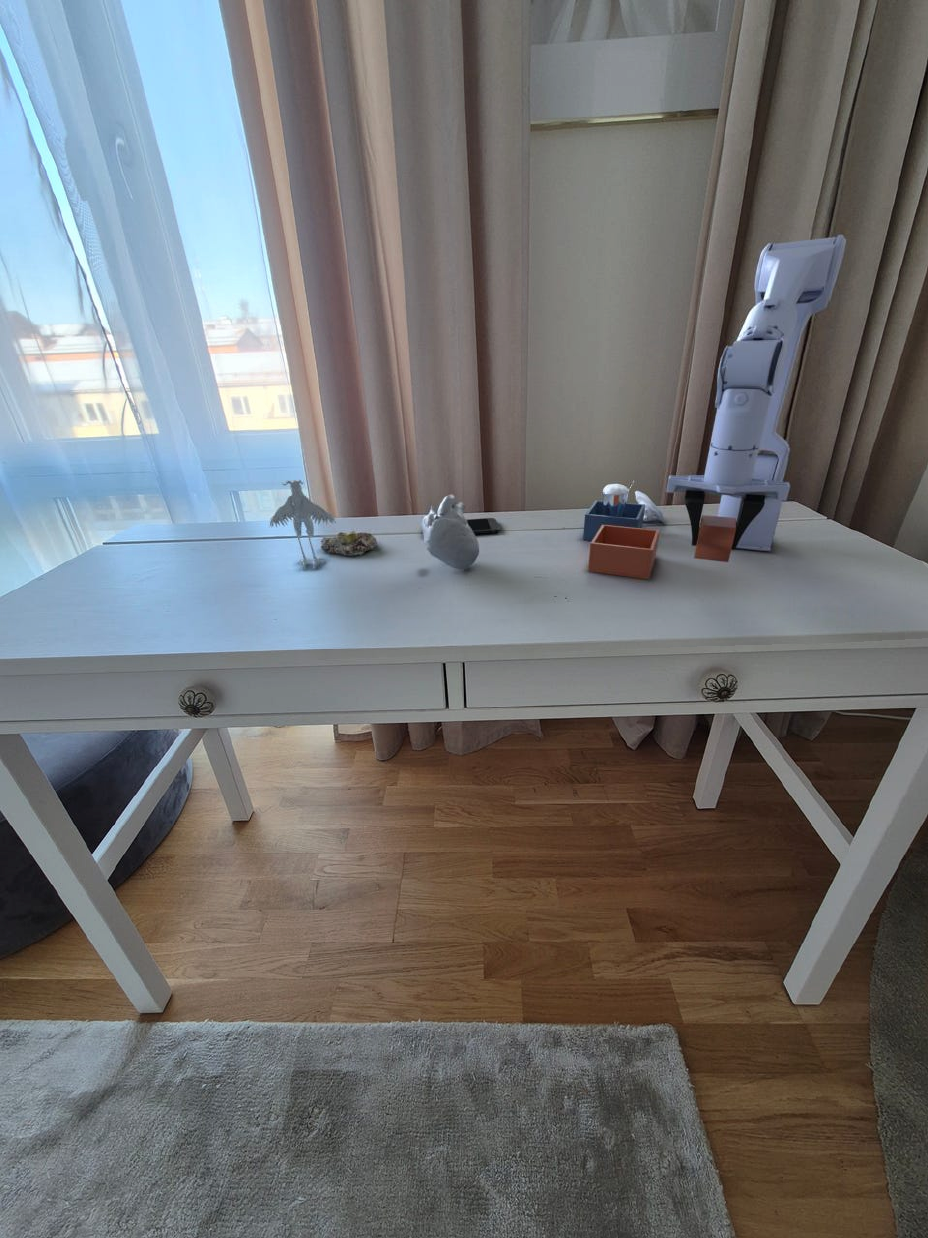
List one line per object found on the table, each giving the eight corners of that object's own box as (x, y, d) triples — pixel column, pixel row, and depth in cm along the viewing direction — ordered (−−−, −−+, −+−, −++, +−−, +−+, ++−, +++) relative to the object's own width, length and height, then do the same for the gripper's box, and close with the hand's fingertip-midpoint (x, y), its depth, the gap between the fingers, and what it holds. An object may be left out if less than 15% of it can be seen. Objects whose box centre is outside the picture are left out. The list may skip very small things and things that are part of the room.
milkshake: (629, 536, 94) (635, 483, 89) (599, 535, 95) (604, 482, 90) (627, 528, 98) (633, 476, 93) (598, 527, 99) (603, 476, 94)
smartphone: (500, 532, 100) (500, 528, 99) (425, 538, 99) (424, 533, 98) (495, 521, 106) (495, 517, 106) (424, 526, 105) (423, 521, 105)
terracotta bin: (655, 557, 86) (659, 530, 84) (648, 579, 79) (653, 550, 77) (599, 550, 90) (602, 524, 88) (587, 571, 83) (590, 543, 80)
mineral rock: (380, 527, 98) (371, 530, 91) (382, 550, 99) (373, 554, 92) (326, 531, 99) (312, 534, 91) (329, 553, 100) (316, 558, 92)
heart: (408, 571, 84) (414, 502, 78) (429, 550, 92) (436, 486, 86) (465, 586, 82) (476, 518, 76) (482, 564, 90) (492, 499, 84)
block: (728, 551, 73) (735, 517, 71) (728, 562, 70) (736, 527, 67) (695, 547, 75) (701, 514, 72) (693, 558, 71) (700, 524, 69)
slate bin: (642, 528, 99) (645, 504, 96) (635, 545, 91) (638, 519, 89) (593, 523, 102) (595, 500, 100) (582, 539, 95) (584, 514, 93)
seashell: (636, 537, 105) (620, 502, 106) (660, 526, 105) (644, 492, 106) (643, 528, 98) (626, 491, 98) (670, 517, 97) (652, 480, 98)
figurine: (344, 558, 92) (330, 475, 84) (341, 567, 88) (326, 481, 81) (281, 562, 91) (261, 479, 84) (275, 571, 87) (255, 485, 80)
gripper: (671, 449, 65) (656, 549, 71) (803, 455, 59) (773, 562, 66) (676, 439, 70) (661, 532, 77) (796, 443, 65) (769, 543, 71)
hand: (712, 545), depth 72 cm, fingers closed on block, 4 cm apart
